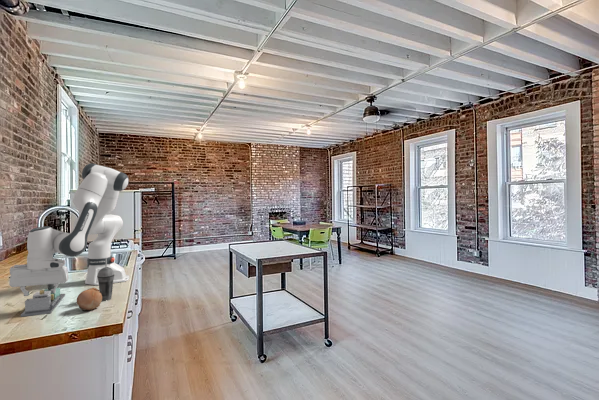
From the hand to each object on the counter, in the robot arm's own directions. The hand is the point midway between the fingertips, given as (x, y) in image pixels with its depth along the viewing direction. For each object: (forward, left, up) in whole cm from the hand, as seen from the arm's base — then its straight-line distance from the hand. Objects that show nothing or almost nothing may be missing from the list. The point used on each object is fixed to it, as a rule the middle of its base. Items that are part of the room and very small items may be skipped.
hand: (40, 294), depth 138 cm
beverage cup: (-25, -2, -7) cm, 26 cm away
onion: (-20, +10, -7) cm, 23 cm away
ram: (-1, -12, -5) cm, 13 cm away
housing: (-1, +1, -5) cm, 5 cm away
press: (-1, -4, -6) cm, 8 cm away
